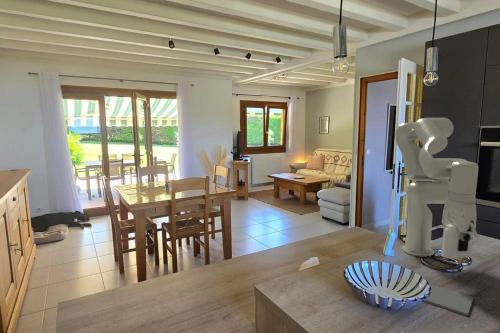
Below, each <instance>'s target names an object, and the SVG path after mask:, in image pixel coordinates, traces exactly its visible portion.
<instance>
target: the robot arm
mask: <svg viewBox="0 0 500 333" xmlns="http://www.w3.org/2000/svg"><path fill="white" fill-rule="evenodd" d="M453 132H454V125H453V122H452V121H451V119H449V118H447V117H424V118H420V119H417V120H416V121H412V122H411V121H410V122H403V123H400V124H399V125H397V127H396V128H395V132H394V134H395V135H394V137H395V142H396V146H397V147H398V150H399V152H400V153H401V156H402V160H403V165H404V170H405V174H406V177H407V179H408V180H410V181H414V182H411V183H409V184H408V185H407V187H406V189H405V190H406V200H407V221H406V224H407V225H406V235H405V237H402V241H403V242H404V244H403V245H402V246H401V250H402V251H403V252H404V253H407V254H409V255H411V256H416V257H421V258H422V257H423V258H426V257H427V256H429V257H432V256H431V255H433V254H434V255H435V250H434V249H432V248H431V245H432V244H431V241H432V228H433V227H432V226H433V213H432V211H431V209H430V208H429V207H428V205H430V204H435V205H436V204H437V205H439V204H440V205H443V204H444V206H443V211H442V217H441V224H442V225H443V228H444V227H445V226H447V225H449V224H452V225H454V226H455V228H456V231H458V232H460V238H461V240H459V245H458V251H460V252H461V251H467V250H468V242H469V241H470V240H471V239H472V238H473V239H474V238H477V237H478V236H479V235H478V232H477V230H476V227H477V205H476V203H475V202H476V192H477V184H478V175H479V174H478V173H479V165H478V163H476V162H473V161H468V160H466V159H463V158H455V157H454V158H450V157H445V158H444V157H441V158H439V157H438V158H435V157H433V155H436V154H438V153H440V152H441V151H442V152H443V150H445V149H446V148H447V145H448V143H449V142H448V138H449V137H450V136H452V134H453ZM414 141H419V142H420V144H421V146H422V147H420V146H419V145H418V144H416V143H415V142H414ZM464 233H466V236H464ZM434 255H433V256H434ZM427 258H428V257H427Z"/></svg>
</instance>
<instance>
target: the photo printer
mask: <svg viewBox="0 0 500 333" xmlns="http://www.w3.org/2000/svg"><path fill="white" fill-rule="evenodd" d="M464 236H466V233H464ZM459 240H461V238H460V232H458V231H456V228H455V226H454V225H452V224H449V225H447V226H445V227H444V226H443V231H442V241H441V248H440V249H441V250H440V254H441V256H442V257H443V258H445V259H451V260H452V259H461V258H463V259H464V258H469V257H471V255H472V250H473V241H474V238H472V239H471V240H470V241H469V242H468V250H467V251H461V252H460V251H458V245H459Z"/></svg>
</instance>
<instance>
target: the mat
mask: <svg viewBox="0 0 500 333" xmlns="http://www.w3.org/2000/svg"><path fill="white" fill-rule="evenodd" d="M429 286H430V287H431V293H430V295H429V297H428V298H427V299H426V300H425V301H423V302H425V303H427V304H430V305H433V306H437V307H439V308H442V309H445V310H447V311H451V312H454V313H457V314H460V315H463V316H465V317H469V314H470V311H471V308H472V305H473V302H474V296H471V295H468V294H464V293H462V292H458V291H455V290H451V289H447V288H444V287H442V286H441V287H440V286H437V285H434V284H429Z"/></svg>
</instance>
